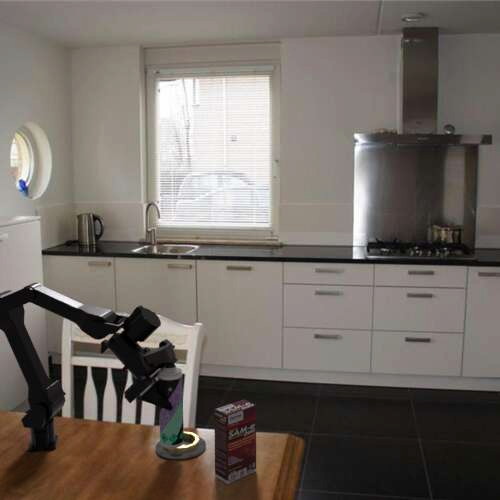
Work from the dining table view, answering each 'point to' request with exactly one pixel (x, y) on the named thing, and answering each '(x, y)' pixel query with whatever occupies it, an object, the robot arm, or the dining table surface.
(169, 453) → the dock
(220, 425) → the supplement box
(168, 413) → the spray can
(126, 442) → the dining table surface
